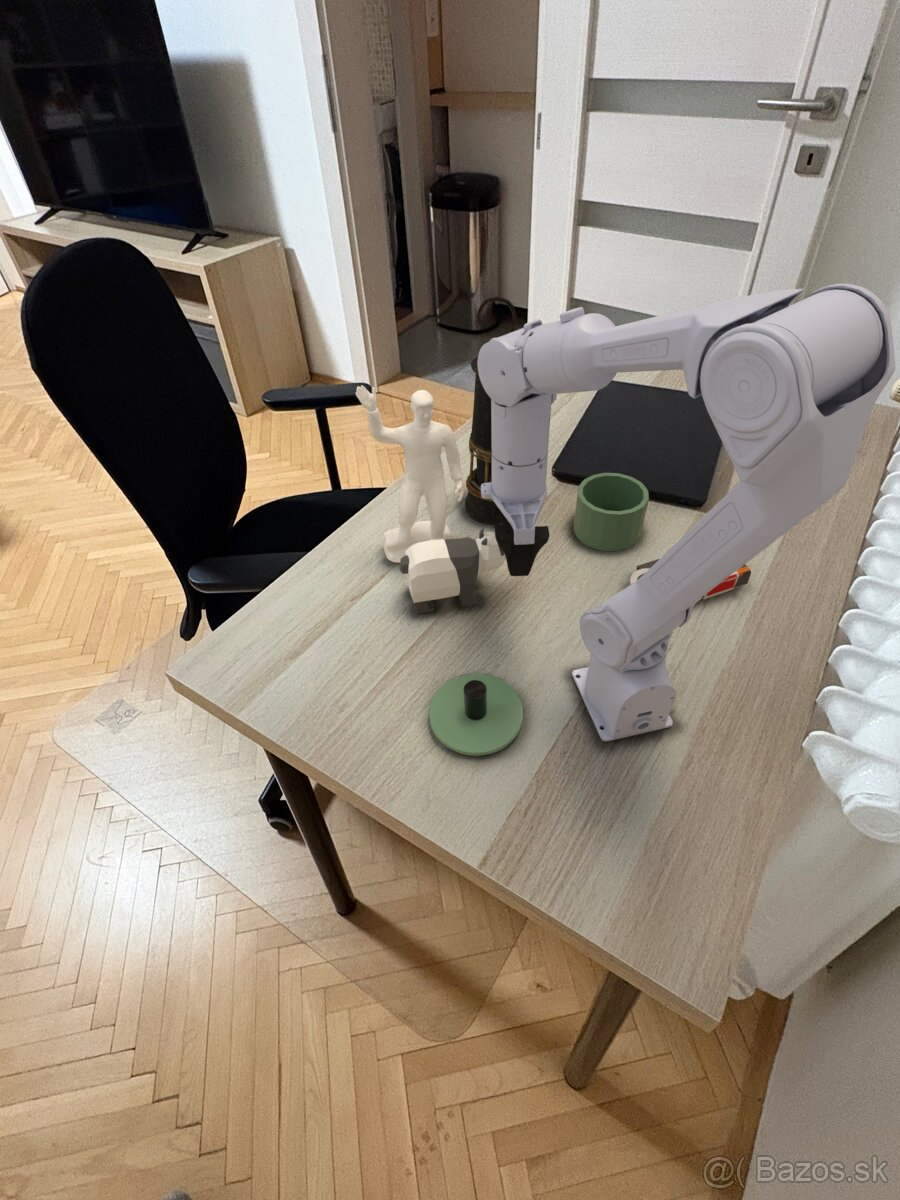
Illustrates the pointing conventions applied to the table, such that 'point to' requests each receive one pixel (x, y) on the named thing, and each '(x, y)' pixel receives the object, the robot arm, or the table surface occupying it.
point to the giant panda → (449, 568)
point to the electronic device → (728, 584)
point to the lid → (476, 714)
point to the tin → (610, 511)
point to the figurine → (417, 471)
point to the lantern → (482, 442)
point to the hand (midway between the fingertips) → (516, 551)
